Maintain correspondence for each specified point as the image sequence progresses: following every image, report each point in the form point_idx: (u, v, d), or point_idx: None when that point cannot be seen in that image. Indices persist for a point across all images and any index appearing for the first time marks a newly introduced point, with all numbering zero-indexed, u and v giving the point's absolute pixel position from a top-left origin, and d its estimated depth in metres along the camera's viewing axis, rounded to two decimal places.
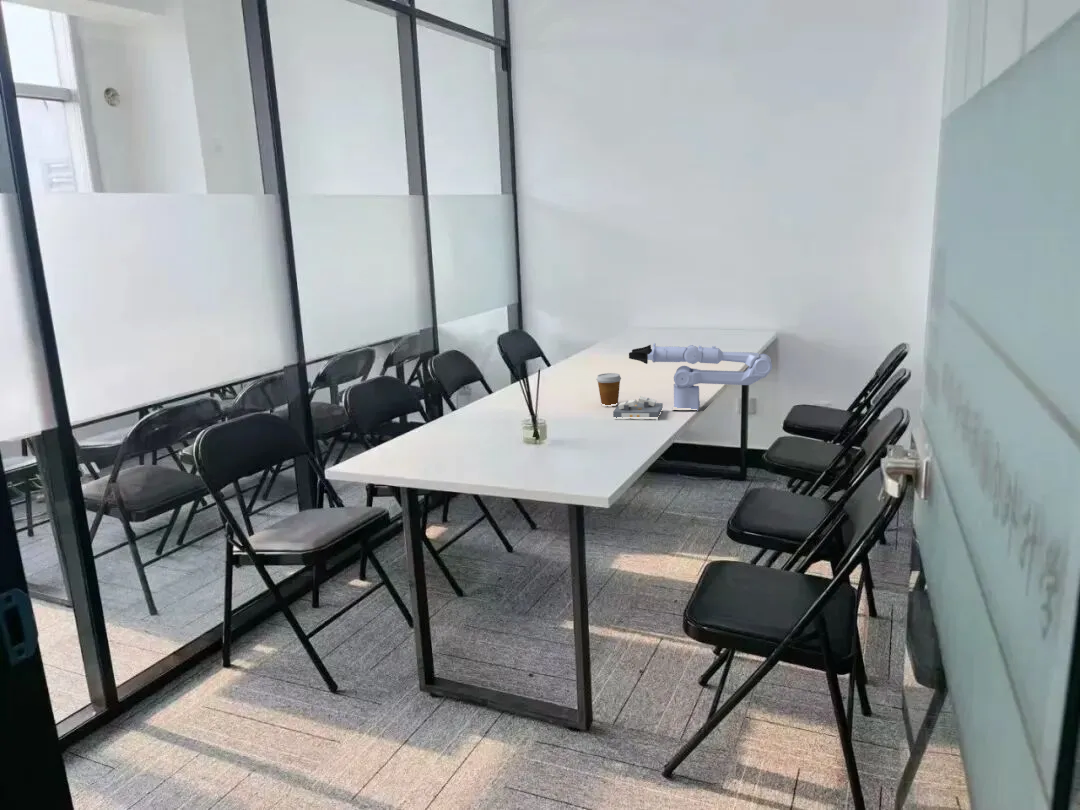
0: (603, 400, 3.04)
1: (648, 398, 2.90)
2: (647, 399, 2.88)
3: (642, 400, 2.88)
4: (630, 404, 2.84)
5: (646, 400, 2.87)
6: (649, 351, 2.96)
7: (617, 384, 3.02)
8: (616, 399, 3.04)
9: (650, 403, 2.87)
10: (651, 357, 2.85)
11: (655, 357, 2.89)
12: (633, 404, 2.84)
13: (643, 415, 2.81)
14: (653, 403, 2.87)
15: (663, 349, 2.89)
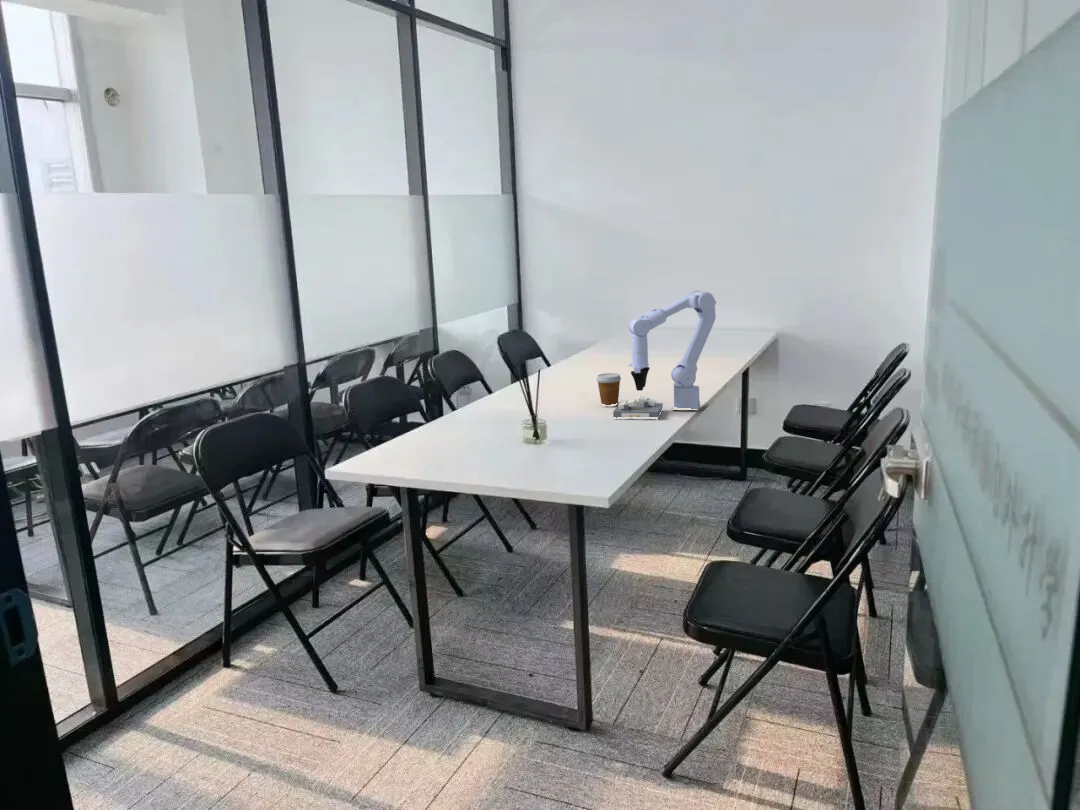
0: (603, 400, 3.04)
1: (648, 398, 2.90)
2: (647, 399, 2.88)
3: (642, 400, 2.88)
4: (630, 404, 2.84)
5: (646, 400, 2.87)
6: (640, 369, 2.90)
7: (617, 384, 3.02)
8: (616, 399, 3.04)
9: (650, 403, 2.87)
10: (637, 369, 2.80)
11: (641, 364, 2.84)
12: (633, 404, 2.84)
13: (643, 415, 2.81)
14: (653, 403, 2.87)
15: (633, 356, 2.85)
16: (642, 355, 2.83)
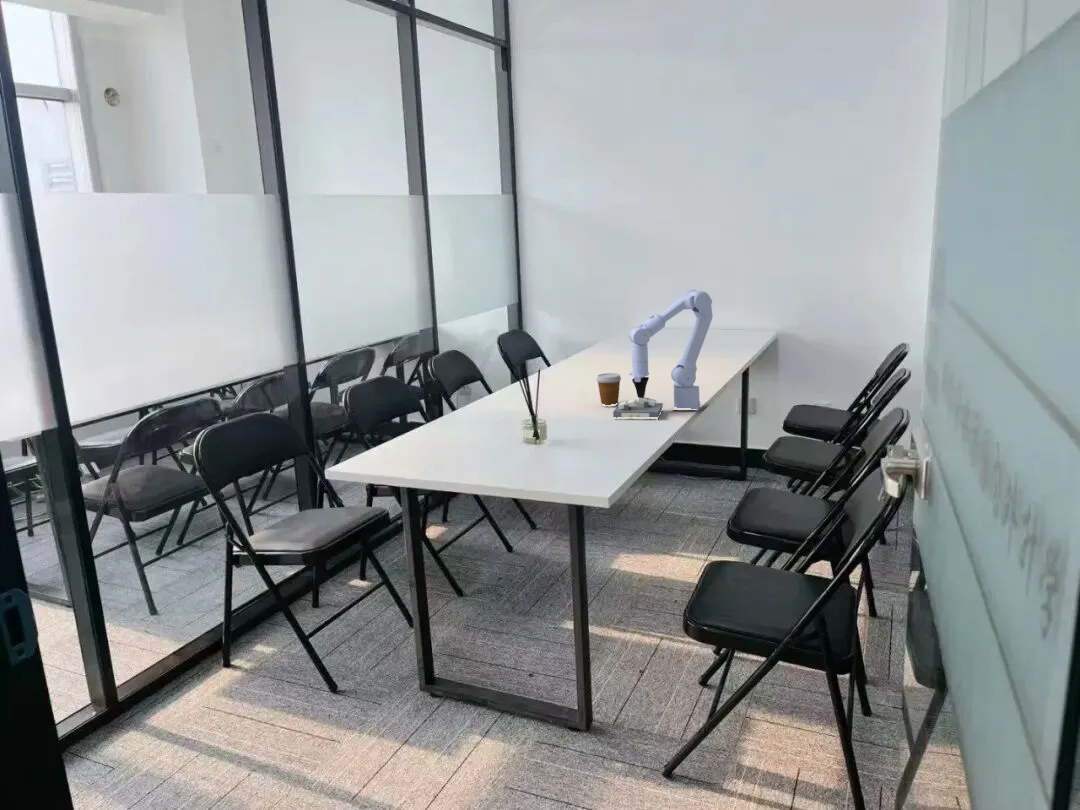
0: (603, 400, 3.04)
1: (648, 398, 2.90)
2: (647, 399, 2.88)
3: (642, 400, 2.88)
4: (630, 404, 2.84)
5: (646, 400, 2.87)
6: None
7: (617, 384, 3.02)
8: (616, 399, 3.04)
9: (650, 403, 2.87)
10: (637, 378, 2.81)
11: (641, 373, 2.85)
12: (633, 404, 2.84)
13: (643, 415, 2.81)
14: (653, 403, 2.87)
15: (633, 365, 2.85)
16: (642, 364, 2.84)
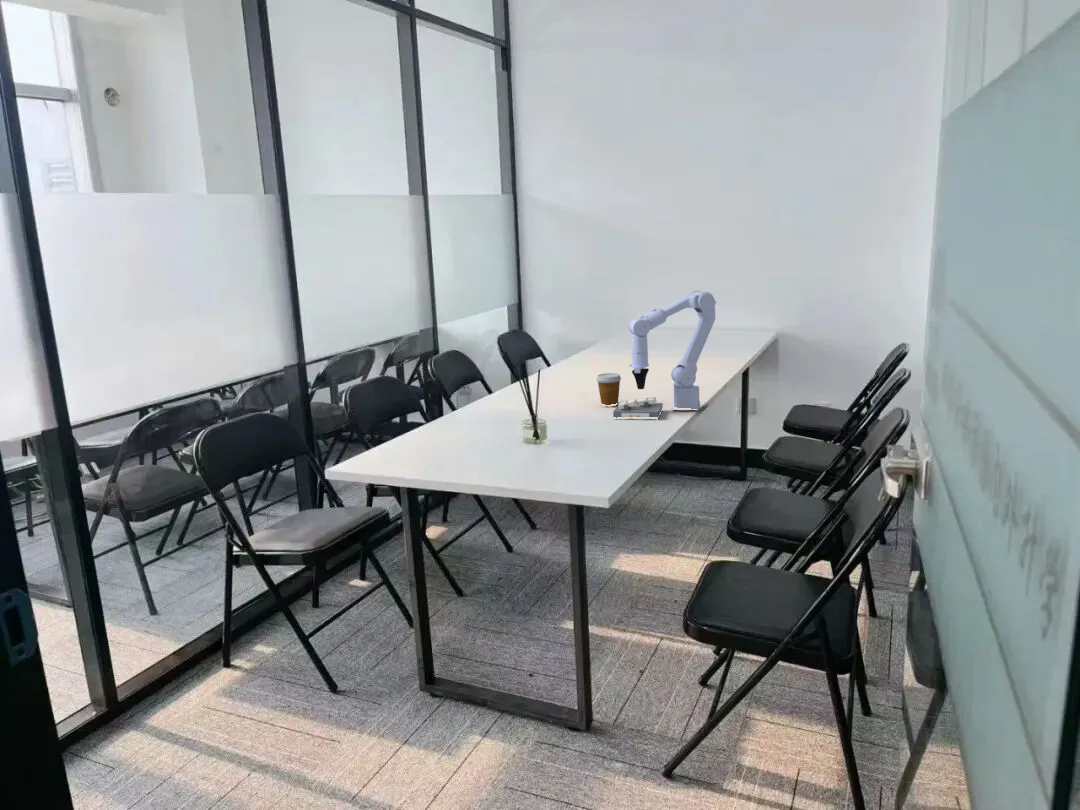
0: (603, 400, 3.04)
1: (647, 398, 2.90)
2: (646, 399, 2.88)
3: (642, 402, 2.88)
4: (630, 404, 2.84)
5: (645, 400, 2.87)
6: None
7: (617, 384, 3.02)
8: (616, 399, 3.04)
9: (650, 401, 2.87)
10: (637, 369, 2.80)
11: (641, 364, 2.84)
12: (633, 404, 2.84)
13: (643, 415, 2.81)
14: (653, 400, 2.87)
15: (633, 356, 2.85)
16: (642, 355, 2.83)
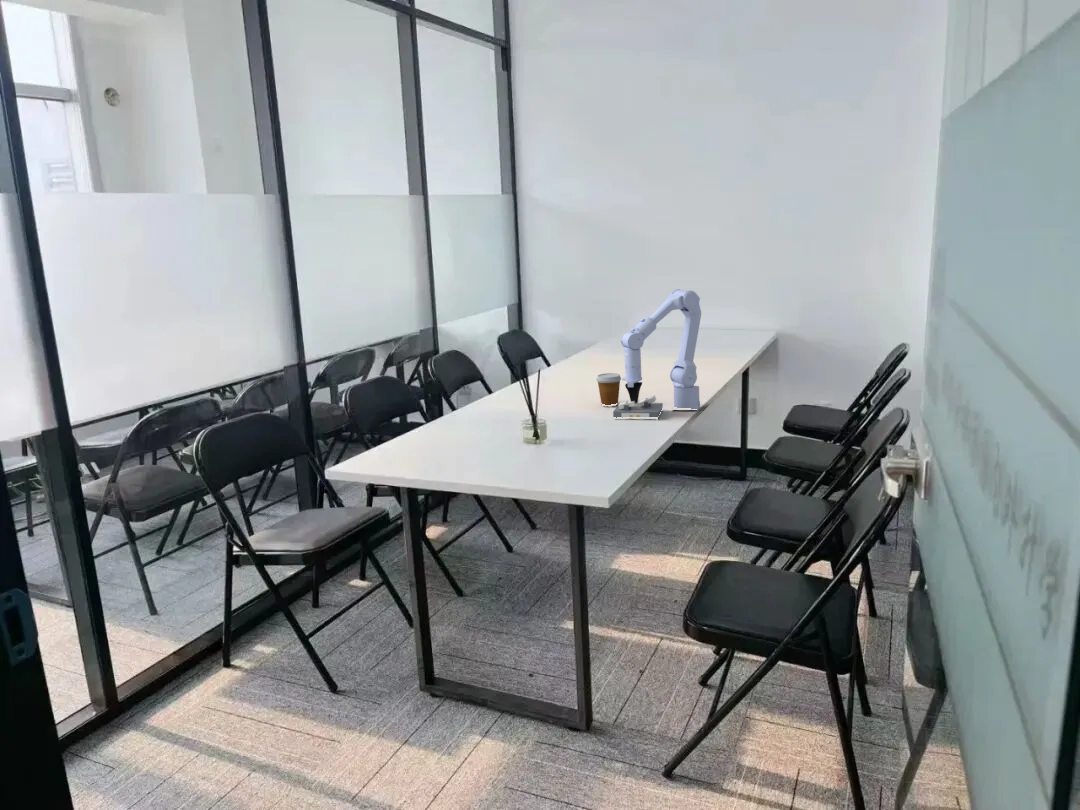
0: (603, 400, 3.04)
1: (646, 398, 2.90)
2: (646, 399, 2.88)
3: (642, 403, 2.88)
4: (630, 404, 2.84)
5: (645, 400, 2.87)
6: None
7: (617, 384, 3.02)
8: (616, 399, 3.04)
9: (650, 401, 2.87)
10: (630, 383, 2.77)
11: (634, 378, 2.81)
12: (633, 404, 2.84)
13: (643, 415, 2.81)
14: (652, 399, 2.86)
15: (626, 370, 2.81)
16: (635, 369, 2.80)
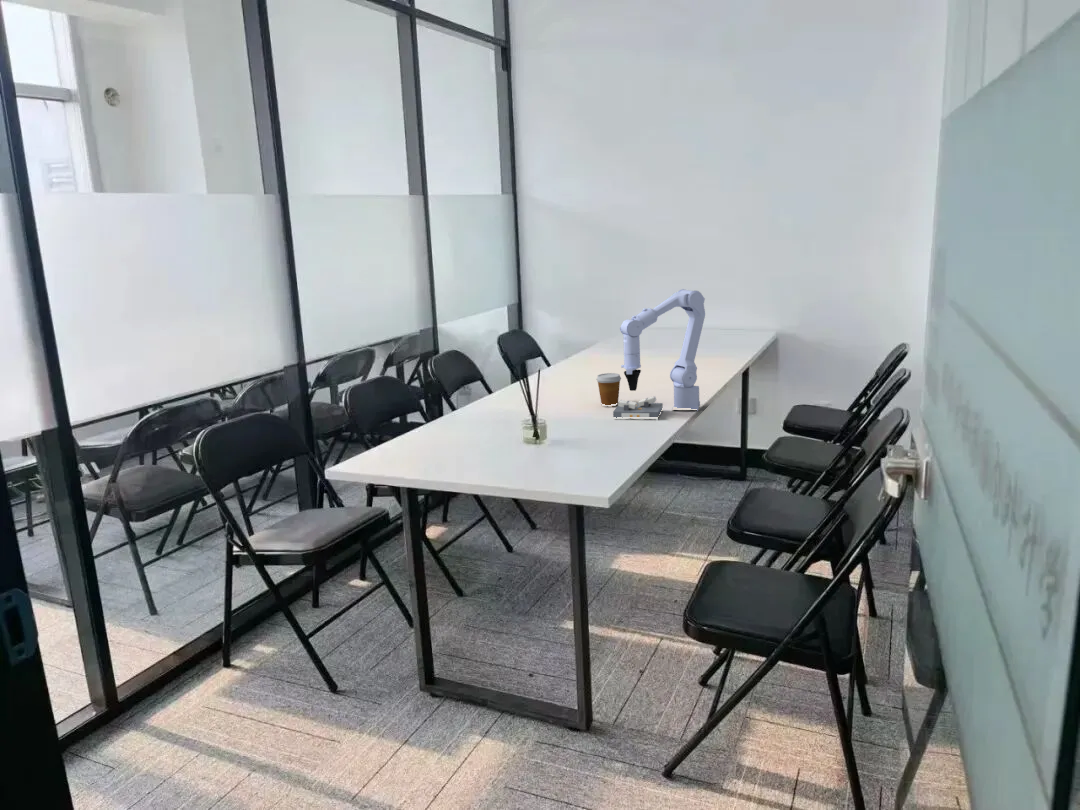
0: (603, 400, 3.04)
1: (647, 398, 2.90)
2: (646, 399, 2.88)
3: (642, 402, 2.88)
4: (630, 406, 2.84)
5: (645, 400, 2.87)
6: None
7: (617, 384, 3.02)
8: (616, 399, 3.04)
9: (650, 401, 2.87)
10: (629, 370, 2.76)
11: (633, 365, 2.80)
12: (633, 407, 2.84)
13: (643, 415, 2.81)
14: (652, 399, 2.86)
15: (625, 357, 2.81)
16: (634, 356, 2.79)
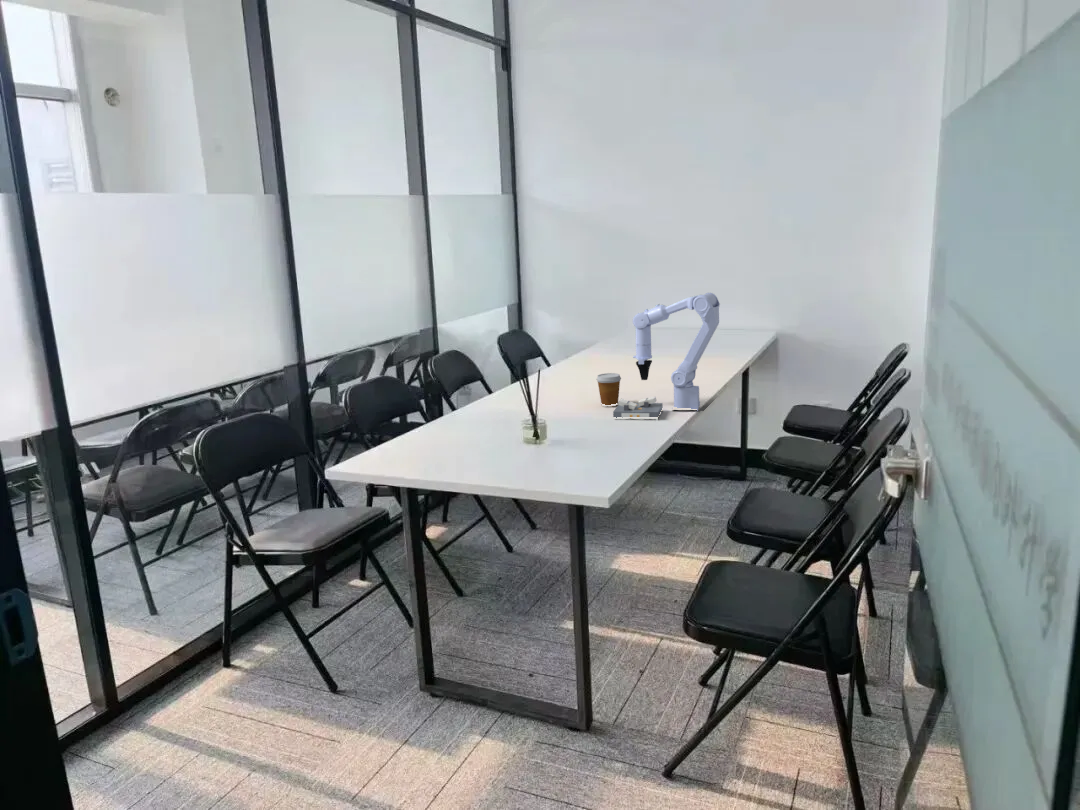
0: (603, 400, 3.04)
1: (647, 398, 2.90)
2: (646, 399, 2.88)
3: (642, 402, 2.88)
4: (630, 406, 2.84)
5: (645, 400, 2.87)
6: None
7: (617, 384, 3.02)
8: (616, 399, 3.04)
9: (650, 401, 2.87)
10: (641, 360, 2.91)
11: (644, 356, 2.94)
12: (633, 408, 2.84)
13: (643, 415, 2.81)
14: (653, 400, 2.86)
15: (637, 348, 2.95)
16: (646, 347, 2.94)
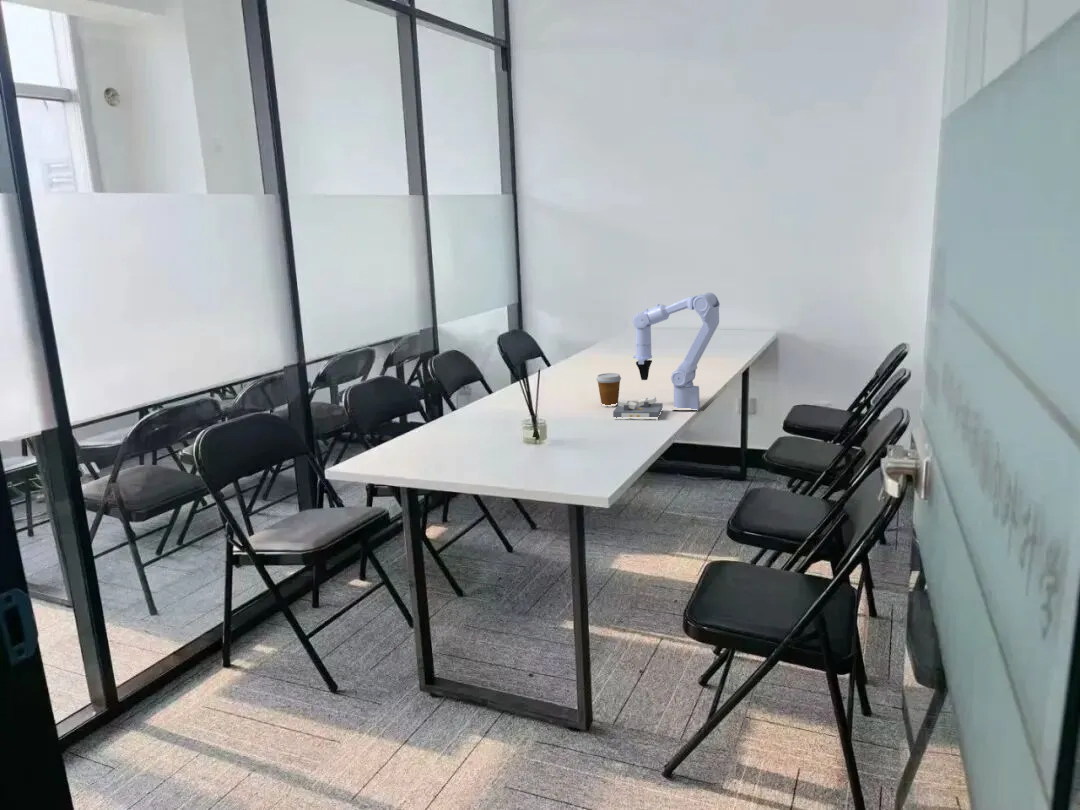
0: (603, 400, 3.04)
1: (647, 398, 2.90)
2: (646, 399, 2.88)
3: (642, 402, 2.88)
4: (630, 406, 2.84)
5: (645, 400, 2.87)
6: None
7: (617, 384, 3.02)
8: (616, 399, 3.04)
9: (650, 401, 2.87)
10: (641, 360, 2.91)
11: (644, 356, 2.94)
12: (633, 408, 2.84)
13: (643, 415, 2.81)
14: (653, 400, 2.86)
15: (637, 348, 2.95)
16: (646, 347, 2.94)
